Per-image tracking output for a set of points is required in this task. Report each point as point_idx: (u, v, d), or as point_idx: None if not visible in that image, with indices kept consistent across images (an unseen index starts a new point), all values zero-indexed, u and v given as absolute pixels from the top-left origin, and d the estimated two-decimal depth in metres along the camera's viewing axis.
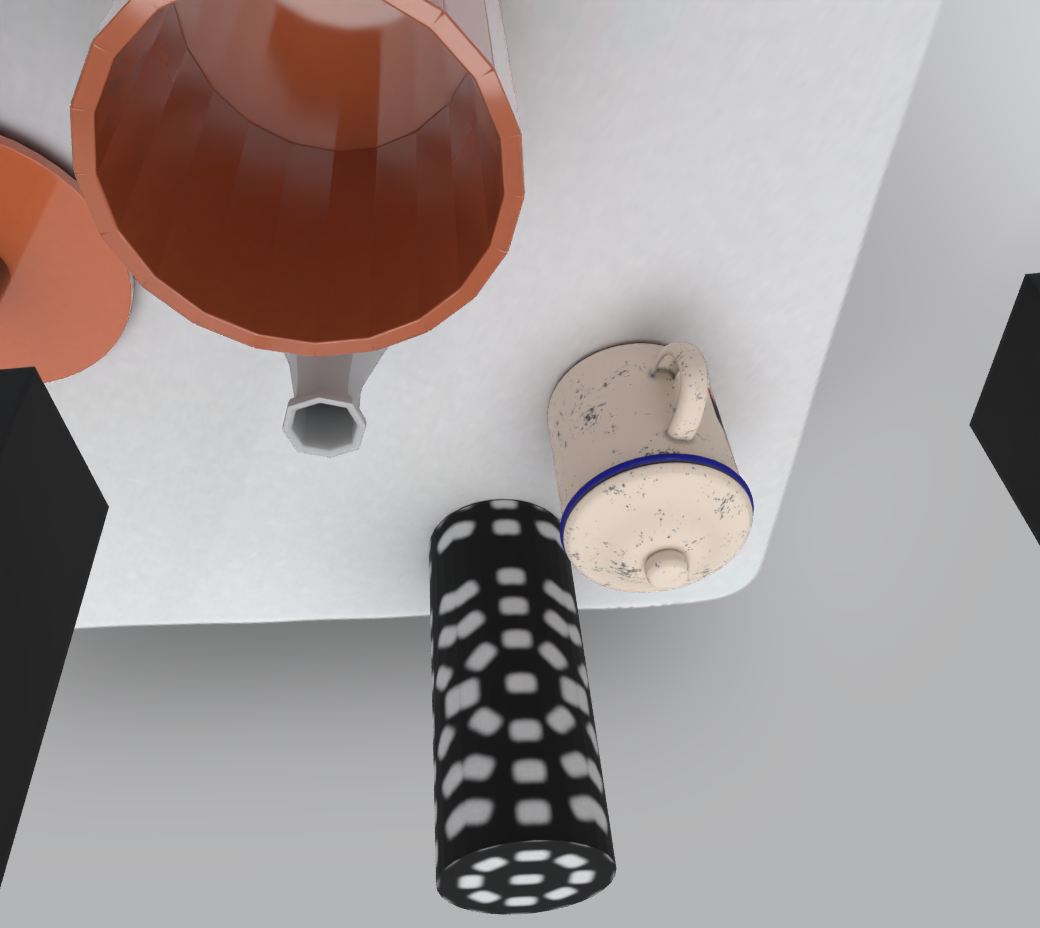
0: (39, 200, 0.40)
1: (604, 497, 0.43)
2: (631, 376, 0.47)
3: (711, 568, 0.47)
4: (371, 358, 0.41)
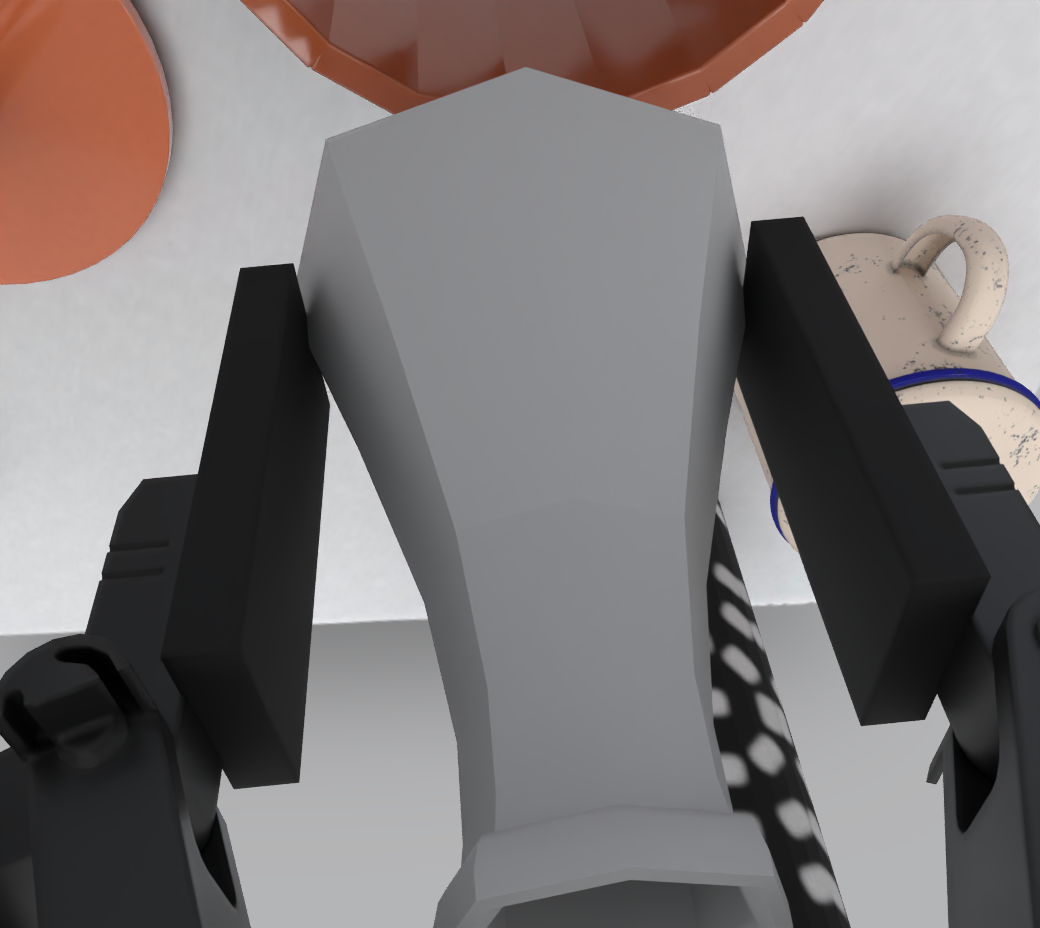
0: None
1: None
2: (864, 272, 0.34)
3: None
4: (706, 564, 0.12)
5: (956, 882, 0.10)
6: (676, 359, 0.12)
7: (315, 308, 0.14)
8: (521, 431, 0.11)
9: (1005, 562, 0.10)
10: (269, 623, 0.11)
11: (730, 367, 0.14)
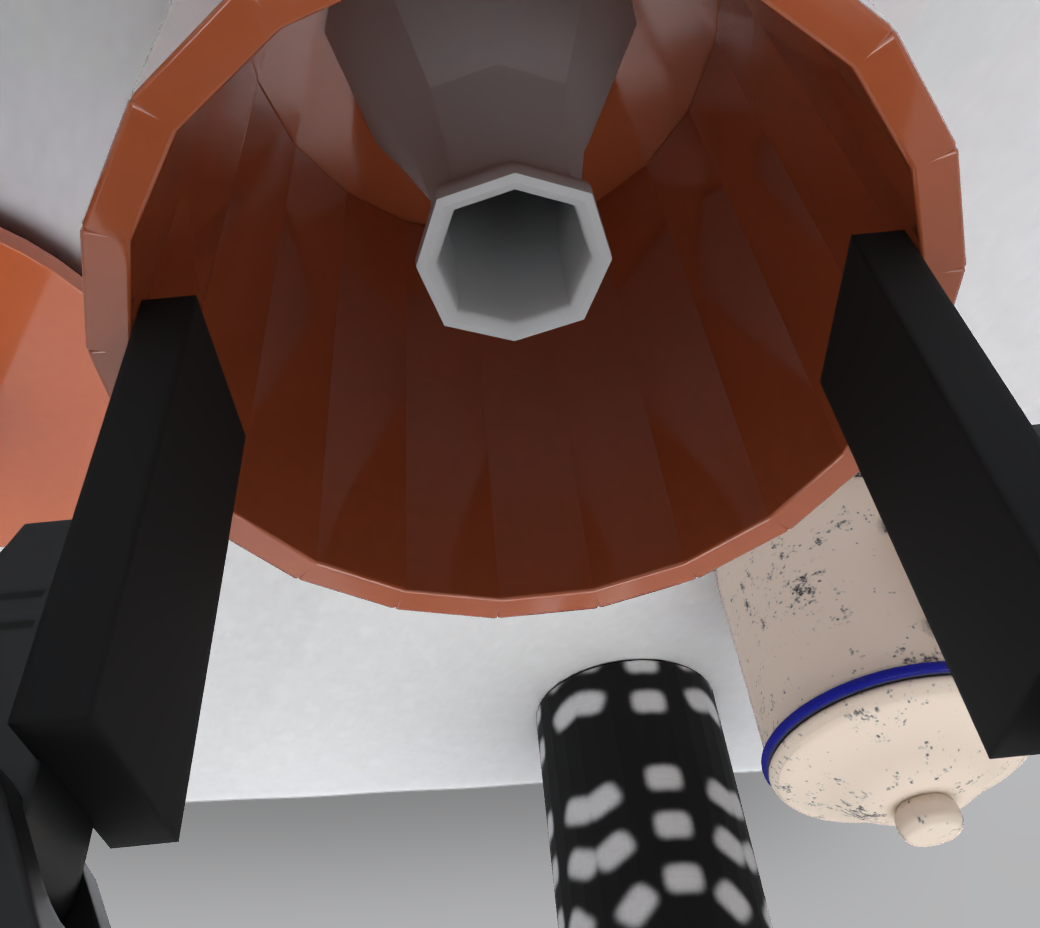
0: (29, 308, 0.27)
1: (845, 723, 0.30)
2: (855, 530, 0.34)
3: None
4: (586, 139, 0.19)
5: None
6: (567, 12, 0.19)
7: (342, 19, 0.22)
8: (470, 38, 0.18)
9: None
10: (139, 679, 0.10)
11: (613, 53, 0.21)
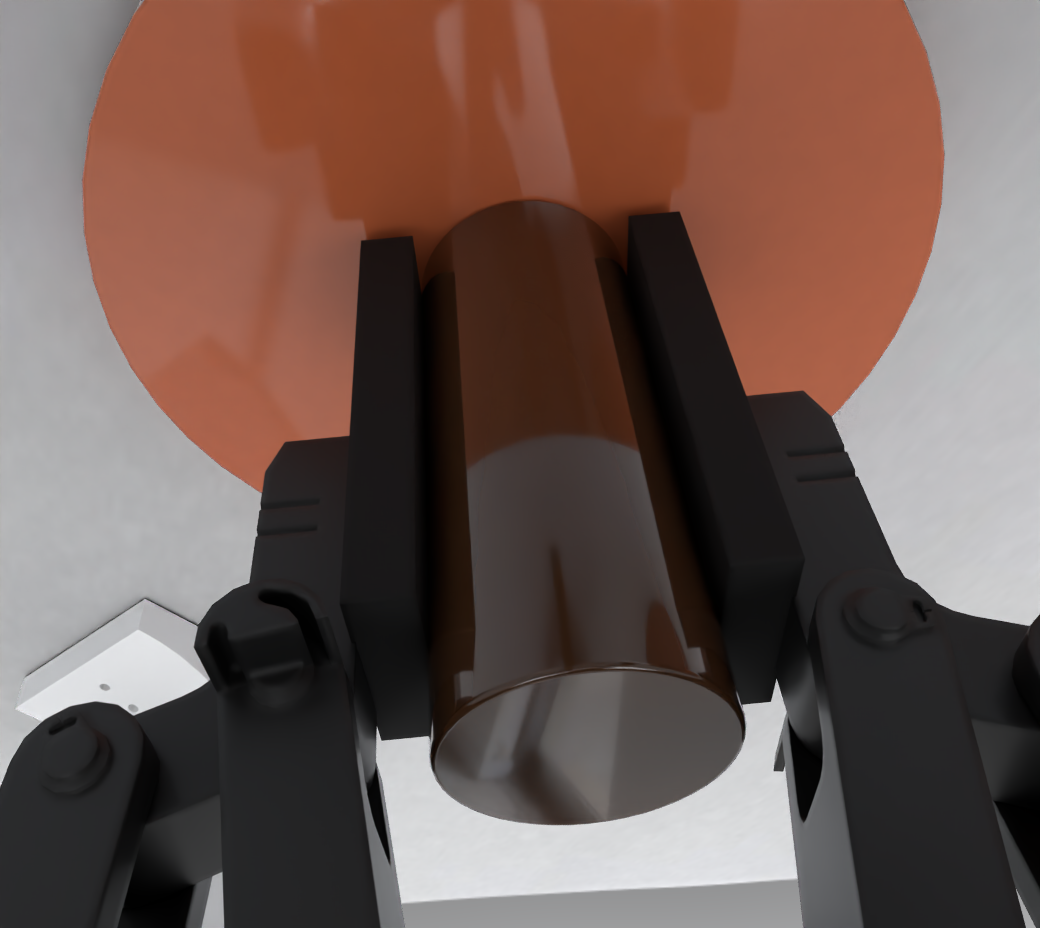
0: (811, 89, 0.14)
1: None
2: None
3: None
4: None
5: (803, 871, 0.10)
6: None
7: None
8: None
9: (833, 546, 0.11)
10: (425, 577, 0.11)
11: None
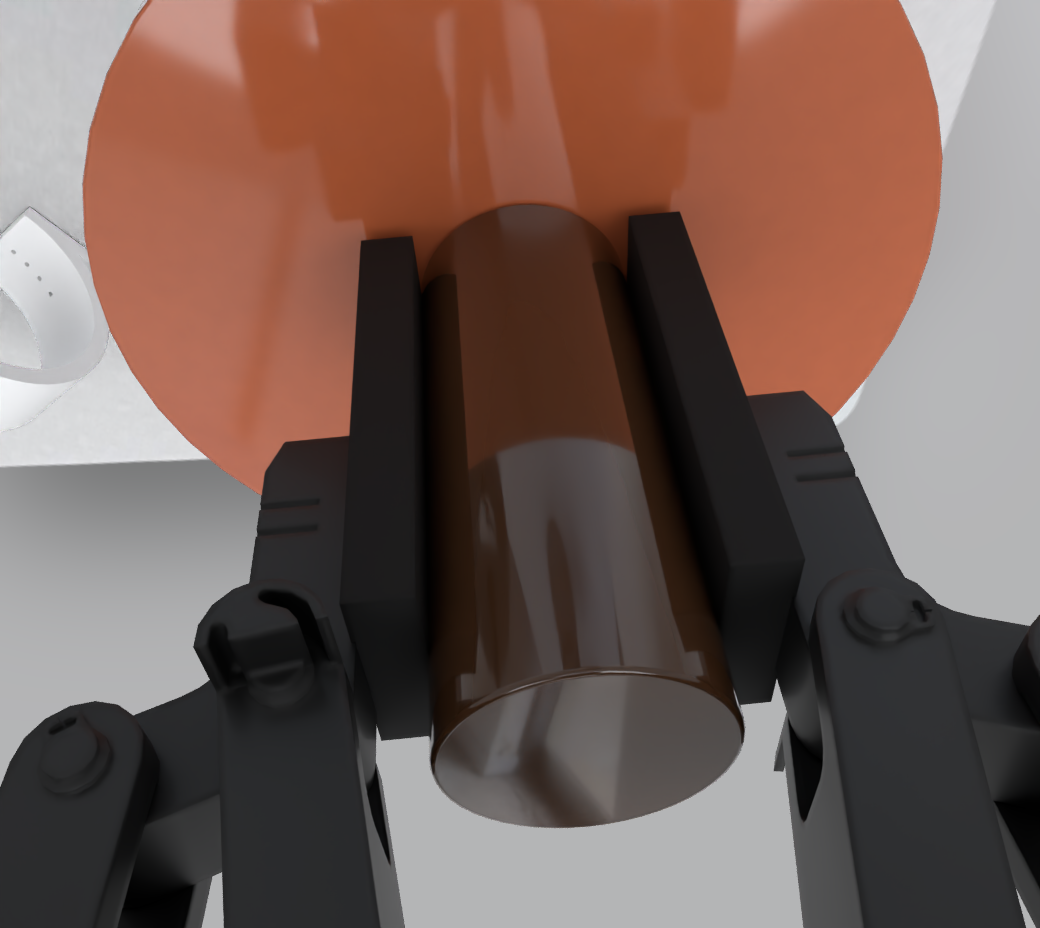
0: (809, 93, 0.14)
1: None
2: None
3: None
4: None
5: (804, 871, 0.10)
6: None
7: None
8: None
9: (833, 546, 0.11)
10: (424, 577, 0.11)
11: None
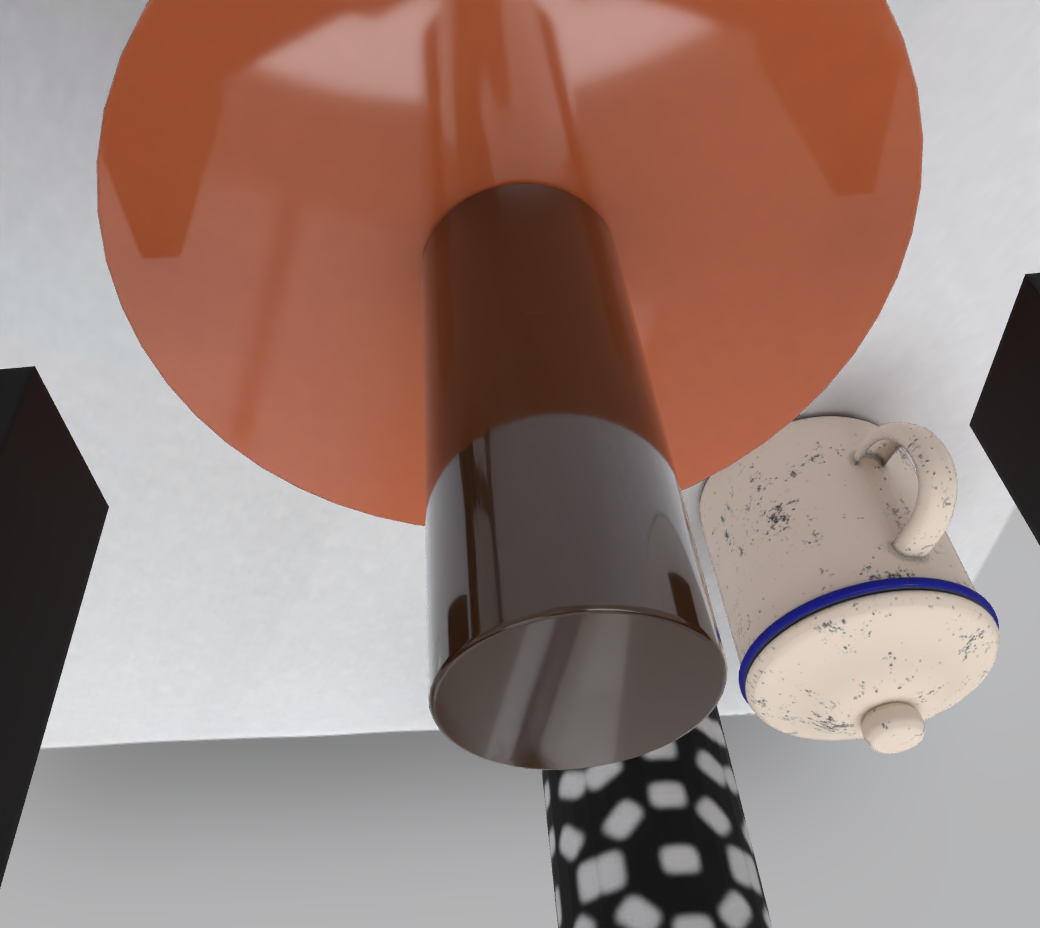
0: (794, 76, 0.14)
1: (815, 635, 0.32)
2: (828, 463, 0.36)
3: (932, 713, 0.36)
4: None
5: None
6: None
7: None
8: None
9: None
10: None
11: None
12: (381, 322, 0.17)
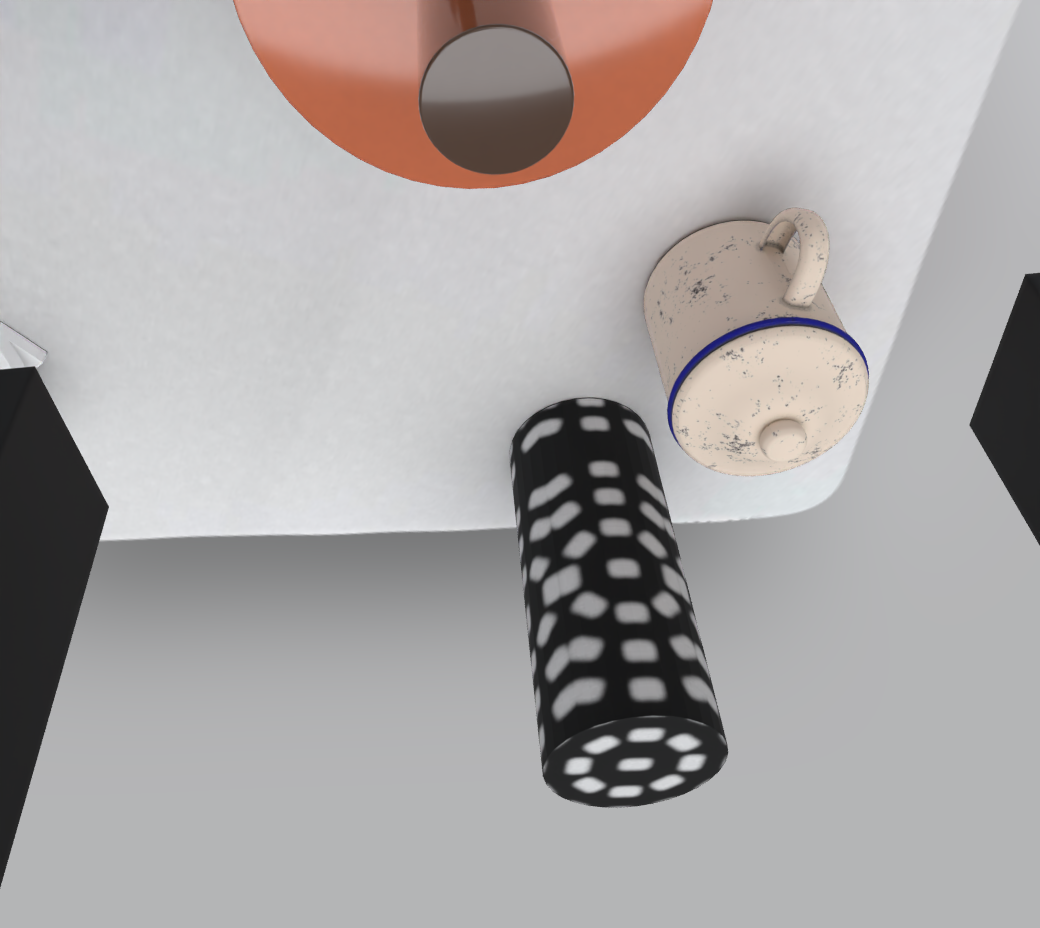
0: None
1: (721, 363, 0.42)
2: (739, 249, 0.46)
3: (821, 448, 0.46)
4: None
5: None
6: None
7: None
8: None
9: None
10: None
11: None
12: (390, 4, 0.26)
